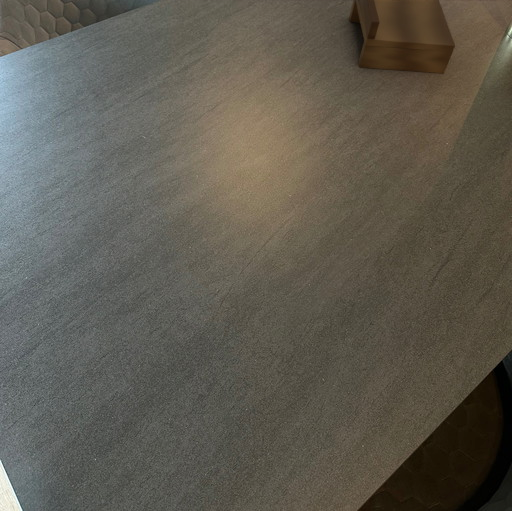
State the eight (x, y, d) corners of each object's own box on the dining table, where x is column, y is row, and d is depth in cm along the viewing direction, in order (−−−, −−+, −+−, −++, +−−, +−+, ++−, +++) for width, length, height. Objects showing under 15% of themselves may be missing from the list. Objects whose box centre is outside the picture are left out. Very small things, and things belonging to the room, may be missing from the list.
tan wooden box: (427, 24, 109) (443, -21, 102) (443, 73, 101) (462, 28, 94) (348, 17, 108) (360, -28, 101) (358, 67, 100) (372, 21, 93)
